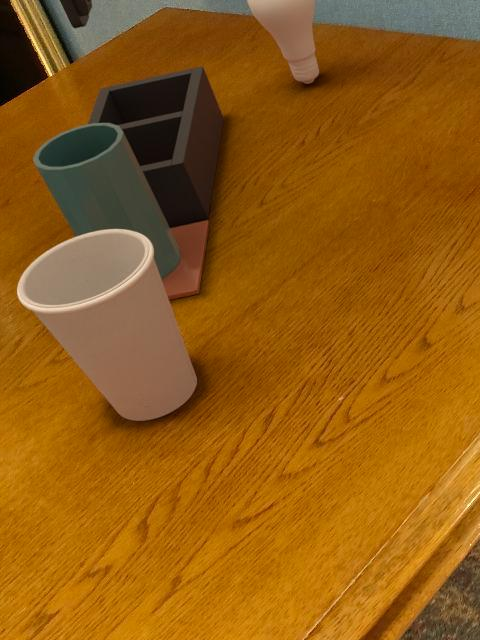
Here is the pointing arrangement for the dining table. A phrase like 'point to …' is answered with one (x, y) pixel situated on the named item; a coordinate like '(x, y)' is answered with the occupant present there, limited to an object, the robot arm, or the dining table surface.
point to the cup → (105, 187)
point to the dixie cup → (113, 320)
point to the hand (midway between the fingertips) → (18, 36)
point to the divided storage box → (169, 137)
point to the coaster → (188, 260)
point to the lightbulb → (291, 32)
